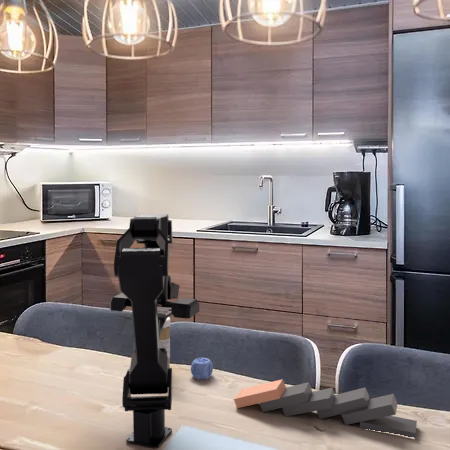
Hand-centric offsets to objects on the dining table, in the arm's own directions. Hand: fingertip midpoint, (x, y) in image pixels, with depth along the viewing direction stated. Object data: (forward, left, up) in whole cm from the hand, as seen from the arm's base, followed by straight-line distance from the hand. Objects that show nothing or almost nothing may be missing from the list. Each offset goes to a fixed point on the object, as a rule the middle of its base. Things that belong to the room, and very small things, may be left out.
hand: (154, 343), depth 103 cm
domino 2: (+5, -23, -11) cm, 26 cm away
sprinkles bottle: (+15, +6, -13) cm, 21 cm away
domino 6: (+5, -43, -12) cm, 45 cm away
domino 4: (+6, -35, -12) cm, 37 cm away
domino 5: (+5, -40, -12) cm, 42 cm away
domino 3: (+5, -28, -12) cm, 31 cm away
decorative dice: (+15, -5, -13) cm, 20 cm away
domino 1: (+5, -18, -12) cm, 22 cm away
